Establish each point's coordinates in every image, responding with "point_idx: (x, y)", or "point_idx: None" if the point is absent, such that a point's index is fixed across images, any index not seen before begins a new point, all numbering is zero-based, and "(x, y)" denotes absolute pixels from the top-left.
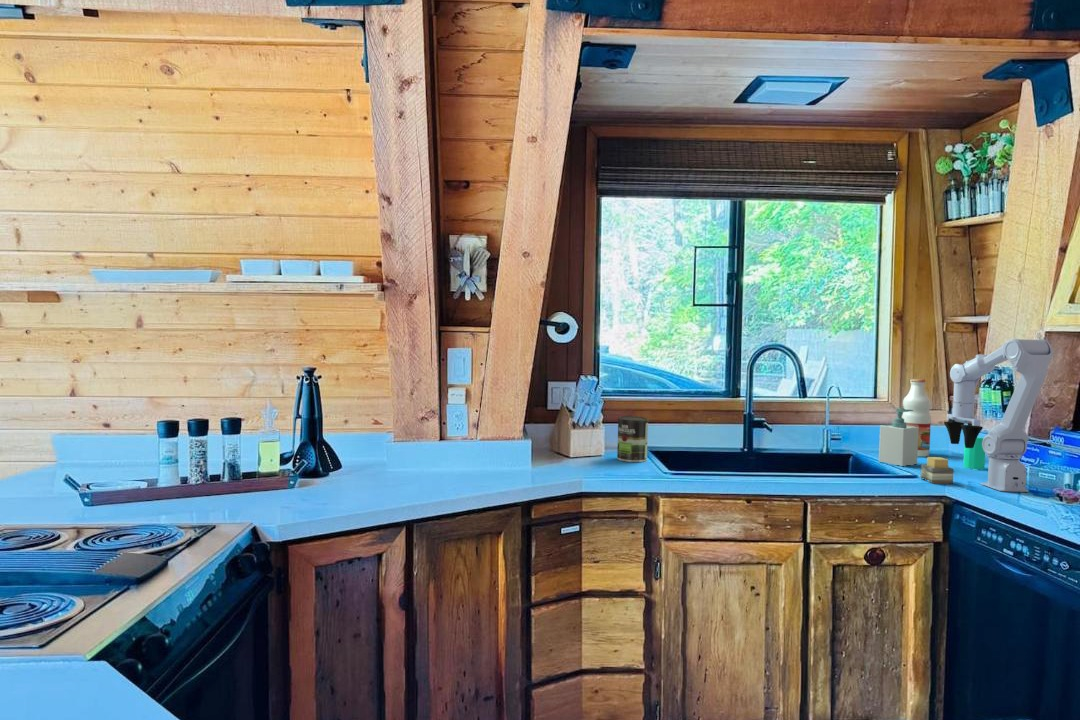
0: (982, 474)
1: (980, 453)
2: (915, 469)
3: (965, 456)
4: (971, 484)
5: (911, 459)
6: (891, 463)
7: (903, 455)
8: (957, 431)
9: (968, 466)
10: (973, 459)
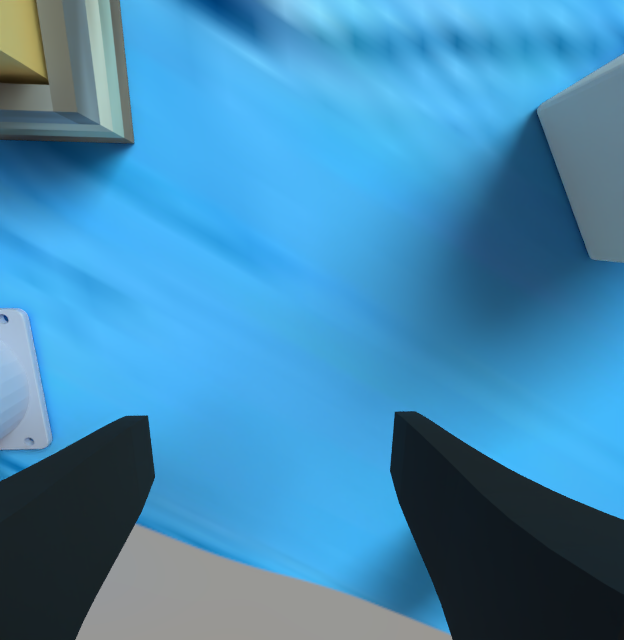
0: (325, 471)
1: None
2: (451, 158)
3: None
4: (20, 258)
5: (602, 199)
6: (615, 59)
7: (602, 83)
8: (457, 592)
9: None
10: None
